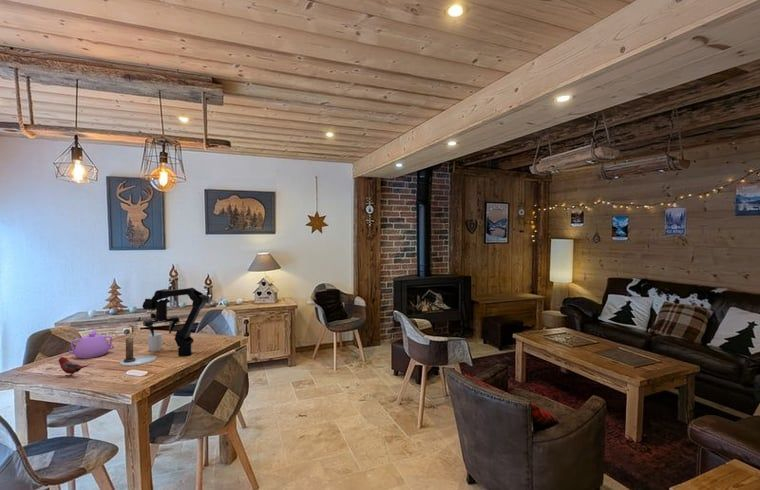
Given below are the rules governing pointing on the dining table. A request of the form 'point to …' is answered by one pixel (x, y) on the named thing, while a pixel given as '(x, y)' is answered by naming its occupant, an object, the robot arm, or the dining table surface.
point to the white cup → (155, 341)
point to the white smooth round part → (139, 360)
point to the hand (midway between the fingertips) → (161, 335)
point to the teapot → (91, 346)
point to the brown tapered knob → (129, 351)
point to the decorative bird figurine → (69, 366)
